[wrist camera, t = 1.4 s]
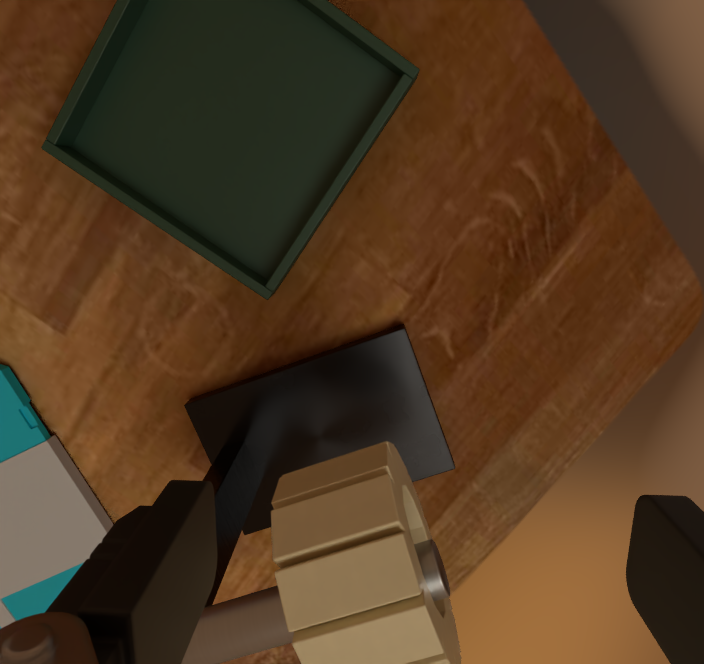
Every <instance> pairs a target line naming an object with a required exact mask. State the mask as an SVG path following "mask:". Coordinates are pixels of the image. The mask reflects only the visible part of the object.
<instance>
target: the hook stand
mask: <svg viewBox="0 0 704 664" xmlns="http://www.w3.org/2000/svg"><path fill="white" fill-rule="evenodd" d="M184 406H185V408H186V410H187V413H188V415H189V417H190V419H191V421H192V423H193V426H194V428H195V430H196V432H197V434H198V436H199V438H200V441H201V443H202V445H203V447H204V449H205V451H206V453H207V456H208V458H209V460H210V462H211V464H212V466H211V467H210V469H209V471H208V472H207V474H206V476H205V477H204V479H203V481H210V482H211V483H212V485H213V488H214V499H215V518H216V537H217V568H216V575H215V580H214V584H213V587H212V590H211V592H210V595H209V597H208V600H207V602H206V604H205V607H204V609H203V612H202V614H201V617H200V619H199V621H198V624H197V626H196V629H195V631H194V634H193V636H192V638H191V641H190V643H189V646H188V648H187V651H186V653H185V655H184V658H183V660H182V663H181V664H219V663H222V662H226V661H229V660H233V659H236V658H240V657H243V656H247V655H250V654H254V653H257V652H261V651H264V650H267V649H271V648H274V647H278V646H281V645H285V644H288V643H292V641H293V635H294V631H293V632H289V631H288V629H287V625H286V620H285V616H284V612H283V607H282V603H281V599H280V595H279V590H278V586H274V587H271V588H268V589H264V590H261V591H258V592H254V593H251V594H248V595H244V596H241V597H238V598H235V599H231V600H228V601H225V602H221V603H218V604H215V605H212V604H213V602H214V599H215V597H216V594H217V591H218V589H219V586H220V584H221V581H222V579H223V576H224V574H225V571H226V569H227V566H228V564H229V561H230V559H231V556H232V554H233V551H234V549H235V546H236V543H237V541H238V538H239V536H240V533H241V531H243V533H244V535H247V534H250V533H253V532H256V531H259V530H263V529H266V528H269V527H271V511H272V510H274V508H273V506H272V504H271V502H272V499H273V496H274V493H275V490H276V487H277V484H278V481H279V478H281V477H282V475H284V474H287V473H290V472H293V471H296V470H299V469H302V468H305V467H308V466H311V465H315V464H318V463H321V462H324V461H327V460H330V459H333V458H336V457H339V456H342V455H345V454H348V453H351V452H354V451H357V450H360V449H363V448H366V447H370V446H373V445H376V444H379V443H382V442H385V441H388V442H390V443H392V444H394V446H395V447H396V449H397V451H398V453H399V455H400V457H401V459H402V461H403V462H404V464H405V466H406V468H407V472H408V475H410V478H411V480H412V482H414V481H418V480H421V479H424V478H427V477H430V476H433V475H437V474H440V473H443V472H446V471H449V470H452V469H455V465H454V461H453V458H452V455H451V453H450V450H449V447H448V444H447V442H446V439H445V436H444V433H443V431H442V428H441V425H440V422H439V419H438V417H437V414H436V411H435V408H434V406H433V403H432V400H431V397H430V395H429V392H428V389H427V386H426V383H425V381H424V378H423V375H422V372H421V370H420V367H419V364H418V361H417V359H416V356H415V353H414V350H413V348H412V345H411V342H410V339H409V336H408V334H407V331H406V328H405V325H404V324H401V325H398V326H395V327H393V328H390V329H387V330H384V331H381V332H378V333H376V334H373V335H370V336H367V337H364V338H361V339H359V340H356V341H353V342H350V343H347V344H344V345H341V346H339V347H336V348H333V349H330V350H327V351H324V352H322V353H319V354H316V355H313V356H310V357H307V358H305V359H302V360H299V361H296V362H293V363H290V364H288V365H285V366H282V367H279V368H276V369H273V370H271V371H268V372H265V373H262V374H259V375H256V376H253V377H251V378H248V379H245V380H242V381H239V382H236V383H234V384H231V385H228V386H225V387H222V388H219V389H217V390H214V391H211V392H208V393H205V394H202V395H200V396H197V397H194V398H191V399H189V401H188V402H187V403H186V404H185V405H184ZM414 547H415V550H416V553H417V556H418V560H419V563H420V566H421V569H422V573H423V576H424V578H425V581H426V583H427V586H428V588H429V591H430V593H431V596H432V598H433V601H438V600H441V599H445V598H448V597H449V596H450V588H449V583H448V579H447V576H446V572H445V569H444V565H443V562H442V559H441V556H440V554H439V551H438V548H437V546H436V544H435V542H434V541H433V540H432V539H430V540H427V541H423V542H420V543H417V544H414Z"/></svg>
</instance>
